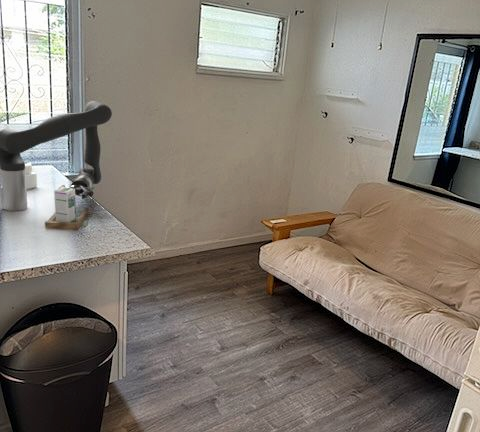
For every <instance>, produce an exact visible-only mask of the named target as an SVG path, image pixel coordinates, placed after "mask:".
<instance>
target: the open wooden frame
mask: <svg viewBox="0 0 480 432" xmlns="http://www.w3.org/2000/svg"><path fill="white" fill-rule="evenodd" d="M93 215H94V212H90V207H84V209H83V211H82V212H81V213H80V215H79V216H78V218H76V222H75V223H72V222H56V214H55V212H54V213H53V214H51V216H50V217H49V218H48V219H47V220H45V222H44V225H45V227H44V228H45V229H50V230H51V229H54V230H67V231H69V230H70V231H78V229H79V228H80V227H87V225H88V223H89V222H88V221H84V220H85V219H86V217H87V218H92V217H93Z"/></svg>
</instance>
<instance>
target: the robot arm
mask: <svg viewBox="0 0 480 432" xmlns="http://www.w3.org/2000/svg"><path fill="white" fill-rule="evenodd" d="M112 115H113V111H112V109H111V108H110V107H109V106H108V105H107V104H105V103H102V102H99V101H96V100H91V101H89V102H87V103H86V105H85V107H84V111H83V112H68V113H61V114H60V113H59V114H56V115H54V116H50V117H48V118H46V119H44V120H43V121H41V122H40V123H38V125H36V126H34V127H32V128H28V129H24V130H20V131H18V130H14V129H10V128H3V129H1V130H0V181H1V186H0V207H1V210H5V211H9V212H18V211H24V210H27V208H28V193H27V190H26V174H25V163H24V162H25V161H24V160H23V158H22V156H21V154H22V153H25V152H26V151H28V150H30V149H32V148H34V147H36V146H39V145H41V144H45V143H48V142H50V141H53V140H56V139H59V138H60V139H61V138H63V137H65V136H68V135H70V134H71V135H72V134H74V133H76V132H79V131H81V130H84V129H85V148H84V149H85V150H84V156H83V160H84V163H85V164H86V165H87V166H90V167H92V168H88V167H83V168H81V169H80V170H79V172H78V176H77V177H76V178H75V179H74V180H72V181H73V182H72V183H71V184H70V185H69V186H68V187H69V188H74V189H75V196H79V197H81V199H83V200H84V199H86V198H88V196H89V197H90V198H91V197H93V196H94V194H95V187H93V185H98V184H99V183H100V182H101V181H102V172H101V167H100V159H101V149H102V148H101V142H100V138H99V135H98V126H100V125H104V124H106V123H107V122H109V121H110V120H111V118H112ZM62 187H66V186H65V184H62V185H60V187H58V189H60V188H62Z"/></svg>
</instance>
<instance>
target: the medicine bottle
mask: <svg viewBox="0 0 480 432" xmlns="http://www.w3.org/2000/svg"><path fill="white" fill-rule="evenodd" d="M24 163H25V174H26V191H27V190H30V189H33V188H34V189H35V188H37V187H38V180H37V179H38V178H37V173H36V172H33V166H32V163H31V162H25V161H24Z"/></svg>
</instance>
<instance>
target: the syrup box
mask: <svg viewBox="0 0 480 432" xmlns="http://www.w3.org/2000/svg"><path fill="white" fill-rule="evenodd" d="M59 188H60V187H59ZM53 193H54V211H55V212H54V213H55V214H56V222H72V223H75V222H76V220H77V207H76V195H75V189H74V188H69V186H65V187H62V188H60V189H55V190H54V191H53Z"/></svg>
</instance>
